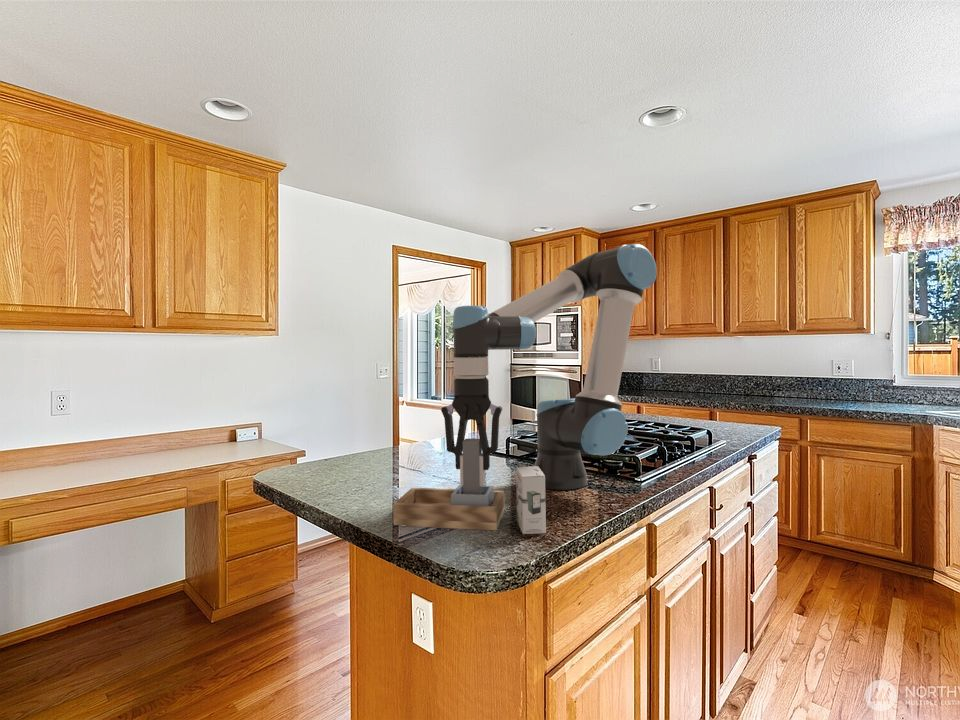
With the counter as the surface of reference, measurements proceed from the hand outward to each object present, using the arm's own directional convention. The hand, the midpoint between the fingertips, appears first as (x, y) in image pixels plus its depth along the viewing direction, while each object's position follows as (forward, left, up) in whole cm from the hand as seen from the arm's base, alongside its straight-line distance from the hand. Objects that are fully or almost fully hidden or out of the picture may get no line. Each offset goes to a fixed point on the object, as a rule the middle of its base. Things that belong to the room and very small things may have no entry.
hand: (472, 484), depth 110 cm
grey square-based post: (0, 0, -6) cm, 6 cm away
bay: (+5, 0, -8) cm, 9 cm away
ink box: (-13, +3, -8) cm, 15 cm away
